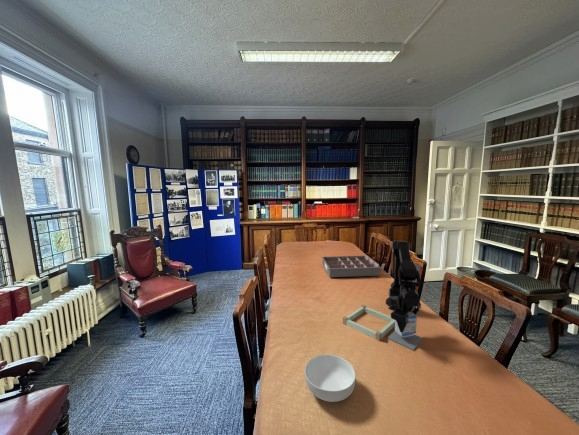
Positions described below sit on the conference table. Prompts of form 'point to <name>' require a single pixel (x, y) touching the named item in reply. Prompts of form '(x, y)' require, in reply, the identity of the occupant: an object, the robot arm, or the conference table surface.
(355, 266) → the organizer tray
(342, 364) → the cereal bowl
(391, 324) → the pale green square frame
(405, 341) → the slate mat
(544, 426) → the conference table surface
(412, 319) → the medicine box
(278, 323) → the conference table surface
